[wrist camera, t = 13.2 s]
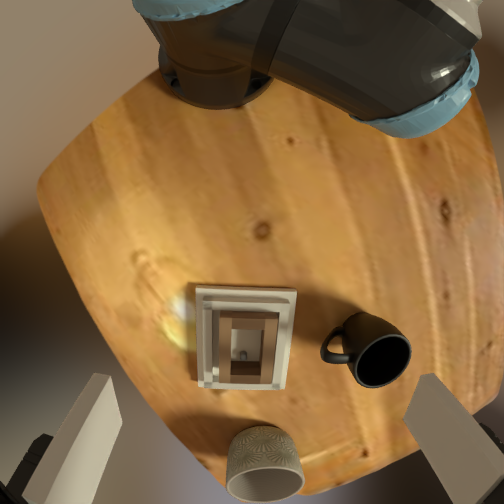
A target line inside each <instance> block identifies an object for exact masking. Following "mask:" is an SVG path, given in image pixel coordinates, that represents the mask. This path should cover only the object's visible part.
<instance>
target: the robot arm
mask: <svg viewBox="0 0 504 504" xmlns="http://www.w3.org/2000/svg"><path fill="white" fill-rule="evenodd" d="M132 1H133V6H134V8H135V10H136V11H137V12H138V13H140V14H141V16H142V17H143V19H144V20H145V22H146V23H147V25H148V26H149V28H150V30H151V31H152V33H153V34H154V36H155V37H156V39H157V40H158V42H159V44H160V49H159V55H158V61H159V68H160V72H161V74H162V77H163V79H164V81H165V82H166V84H167V85H168V86H169V88H170V89H171V90H172V91H173V92H174V93H175V94H176V95H177V96H178V97H179V98H180V99H182V100H183V101H185V102H187V103H189V104H191V105H193V106H196V107H200V108H204V109H213V110H221V109H230V108H234V107H238V106H241V105H244V104H246V103H248V102H250V101H252V100H254V99H255V98H257V97H258V96H259V95H261V94H262V93H263V92H264V91H265V90H266V89H267V88H268V87H269V86H270V84H271V83H272V81H273V80H274V78H275V79H278V80H280V81H283V82H285V83H287V84H289V85H292V86H294V87H296V88H298V89H300V90H303V91H305V92H307V93H309V94H311V95H313V96H315V97H317V98H319V99H321V100H323V101H325V102H327V103H329V104H331V105H333V106H335V107H337V108H339V109H341V110H343V111H345V112H346V113H348V114H349V116H350V117H351V118H353V119H354V120H356V121H358V122H360V123H365V124H368V125H370V126H372V127H374V128H376V129H378V130H380V131H381V132H383V133H385V134H387V135H389V136H392V137H399V138H408V139H409V138H416V137H420V136H423V135H426V134H428V133H431V132H433V131H435V130H436V129H438V128H440V127H441V126H443V125H444V124H446V123H447V122H448V121H450V120H451V119H452V118H453V117H454V116H455V115H456V114H457V113H458V112H459V111H460V110H461V109H462V108H463V107H464V105H465V104H466V103H467V101H468V100H469V98H470V97H471V92H470V90H469V89H471V88H472V87H474V86H475V85H476V84H477V81H478V77H479V65H478V60H477V58H476V56H475V53H474V51H473V50H472V48H473V46H474V45H475V44H476V43H477V42H478V41H479V39H480V38H481V37H482V33H481V28H480V23H479V18H478V6H479V5H480V3H481V2H482V1H483V0H132ZM403 421H404V422H405V424H406V425H407V427H408V429H409V430H410V432H411V433H412V435H413V437H414V438H415V440H416V441H417V443H418V445H419V446H420V448H421V450H422V451H423V453H424V454H425V456H426V458H427V459H428V461H429V463H430V464H431V466H432V468H433V469H434V471H435V473H436V474H437V476H438V478H439V479H440V481H441V483H442V485H443V486H444V488H445V490H446V491H447V493H448V495H449V497H450V498H451V500H452V502H453V504H481V503H482V502H484V503H485V504H504V444H503V443H501V441H500V440H499V438H498V437H496V435H495V433H494V432H493V431H492V430H491V429H490V428H489V427H487V426H485V425H484V424H482V423H480V424H478V423H477V422H476V421H475V419H474V418H473V417H472V416H471V415H470V414H469V412H468V411H467V410H466V409H465V408H464V407H463V406H462V404H461V403H460V402H459V401H458V400H457V399H456V398H455V396H454V395H453V394H452V393H451V392H450V391H449V390H448V388H447V387H446V386H445V385H444V384H443V383H442V382H441V381H440V380H439V378H438V377H437V376H436V375H435V374H434V373H430V374H425V375H421V376H420V379H419V381H418V384H417V387H416V389H415V392H414V394H413V397H412V399H411V401H410V404H409V406H408V408H407V411H406V413H405V415H404V417H403ZM121 425H122V419H121V415H120V412H119V408H118V404H117V400H116V396H115V392H114V388H113V384H112V379H111V376H110V375H104V374H98V373H94V374H93V375H92V377H91V378H90V380H89V381H88V383H87V385H86V386H85V388H84V389H83V391H82V392H81V394H80V395H79V397H78V399H77V400H76V402H75V403H74V405H73V407H72V408H71V410H70V412H69V413H68V415H67V416H66V418H65V420H64V421H63V423H62V424H61V426H60V428H59V430H58V432H57V433H56V435H55V436H54V437H53V436H49V435H47V434H42V435H41V436H40V437H38V438H37V439H36V440H34V441H33V443H32V444H31V446H30V448H29V449H28V452H27V453H26V454H25V456H24V457H23V460H22V461H21V462H20V464H19V465H18V467H17V469H16V471H15V472H14V474H13V476H12V478H11V479H10V481H9V483H8V484H7V486H6V487H5V486H4V484H3V483H2V482H1V481H0V504H92V501H93V498H94V495H95V493H96V490H97V487H98V484H99V481H100V479H101V476H102V474H103V471H104V468H105V466H106V463H107V460H108V458H109V455H110V453H111V450H112V447H113V445H114V443H115V440H116V438H117V435H118V433H119V430H120V428H121Z"/></svg>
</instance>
